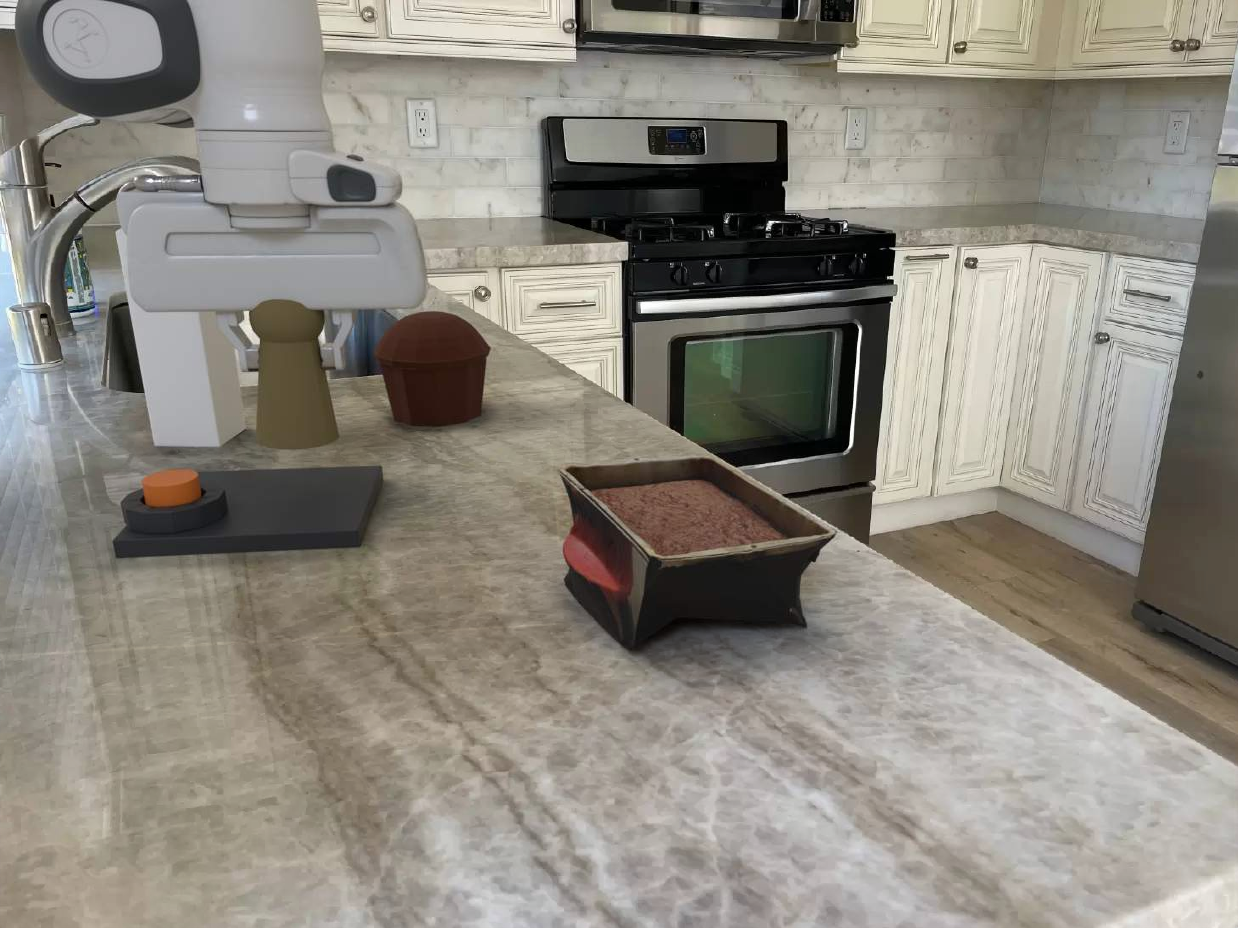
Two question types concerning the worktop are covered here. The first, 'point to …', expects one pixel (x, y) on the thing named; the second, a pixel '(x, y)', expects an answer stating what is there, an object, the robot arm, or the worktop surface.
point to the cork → (291, 377)
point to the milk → (185, 373)
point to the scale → (255, 513)
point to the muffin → (433, 368)
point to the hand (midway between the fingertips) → (295, 369)
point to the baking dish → (683, 545)
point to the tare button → (171, 487)
